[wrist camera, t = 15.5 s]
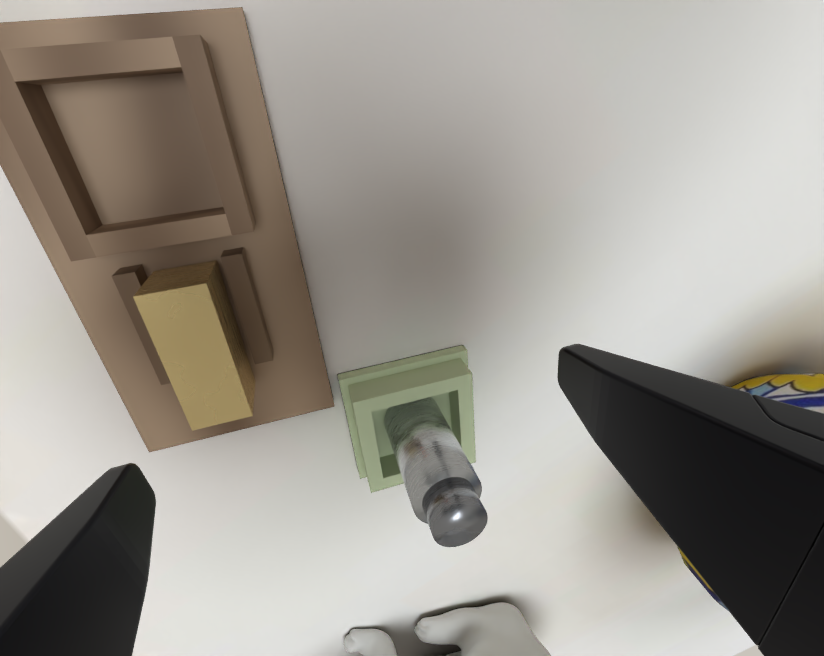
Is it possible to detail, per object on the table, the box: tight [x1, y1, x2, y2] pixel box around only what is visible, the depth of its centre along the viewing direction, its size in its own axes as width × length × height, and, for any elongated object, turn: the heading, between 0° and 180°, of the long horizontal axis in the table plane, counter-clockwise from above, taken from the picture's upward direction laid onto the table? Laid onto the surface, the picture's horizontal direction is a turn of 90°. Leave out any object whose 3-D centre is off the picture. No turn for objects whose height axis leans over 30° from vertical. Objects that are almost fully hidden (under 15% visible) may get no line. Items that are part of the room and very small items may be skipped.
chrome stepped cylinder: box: [384, 397, 487, 547], centre depth 21 cm, size 3×3×8 cm
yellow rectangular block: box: [133, 261, 256, 431], centre depth 18 cm, size 2×6×3 cm, turn 6°
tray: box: [337, 345, 476, 493], centre depth 24 cm, size 7×7×2 cm
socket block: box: [0, 7, 334, 452], centre depth 17 cm, size 9×17×2 cm, turn 6°
